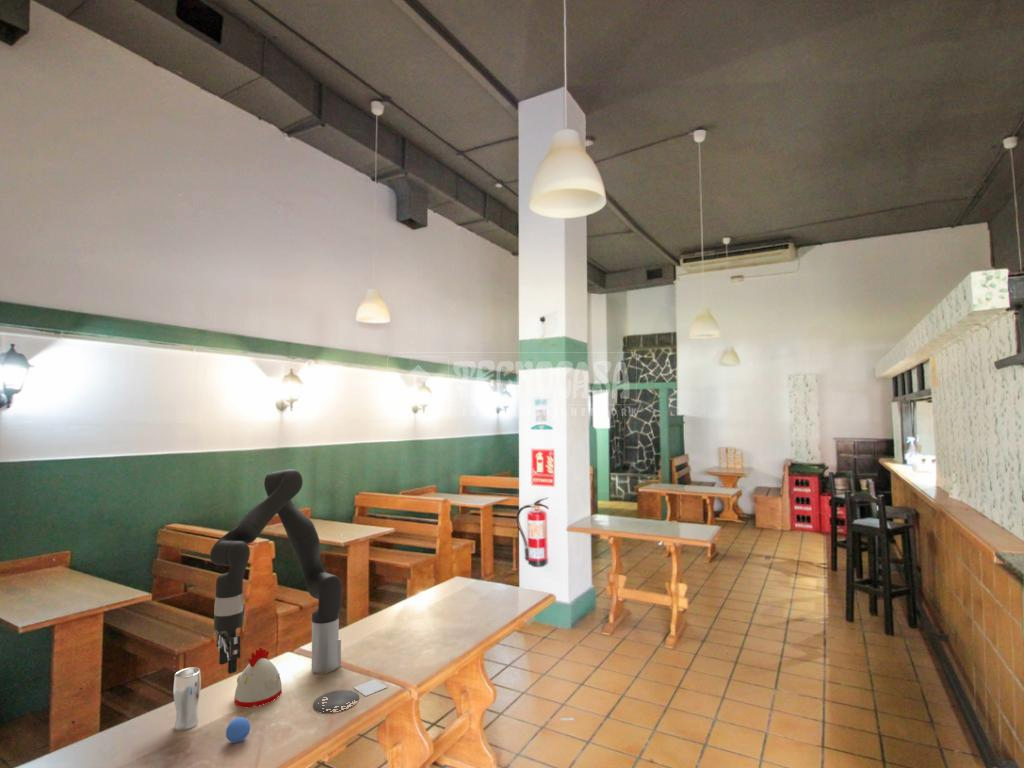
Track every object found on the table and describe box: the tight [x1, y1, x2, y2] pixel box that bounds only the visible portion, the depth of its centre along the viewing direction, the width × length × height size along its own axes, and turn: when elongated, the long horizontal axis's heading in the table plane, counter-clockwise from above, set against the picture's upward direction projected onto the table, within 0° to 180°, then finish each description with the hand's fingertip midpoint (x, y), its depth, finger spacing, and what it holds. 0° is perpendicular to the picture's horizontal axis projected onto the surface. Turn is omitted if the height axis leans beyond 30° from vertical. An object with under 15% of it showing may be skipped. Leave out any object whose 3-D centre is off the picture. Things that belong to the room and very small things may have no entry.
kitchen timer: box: [234, 647, 283, 708], centre depth 174 cm, size 14×14×15 cm
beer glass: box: [172, 667, 202, 732], centre depth 158 cm, size 7×7×15 cm
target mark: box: [312, 689, 360, 714], centre depth 169 cm, size 14×14×1 cm
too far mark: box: [353, 679, 388, 697], centre depth 178 cm, size 8×8×1 cm
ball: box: [225, 716, 251, 744], centre depth 149 cm, size 6×6×6 cm
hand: (227, 668), depth 155 cm, fingers open, 8 cm apart
